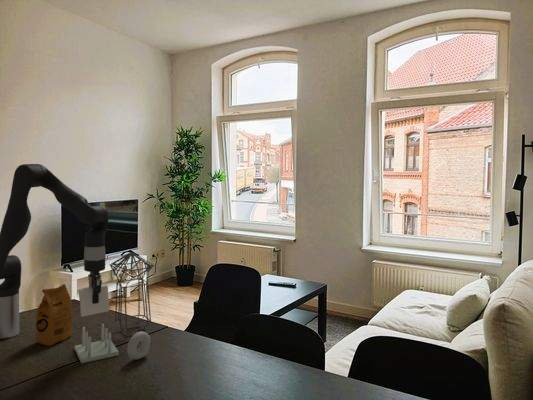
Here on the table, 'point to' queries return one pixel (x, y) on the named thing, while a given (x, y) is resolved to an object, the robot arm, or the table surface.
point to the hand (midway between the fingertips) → (94, 302)
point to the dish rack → (96, 347)
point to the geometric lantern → (131, 286)
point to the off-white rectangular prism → (88, 306)
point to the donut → (134, 342)
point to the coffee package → (54, 316)
